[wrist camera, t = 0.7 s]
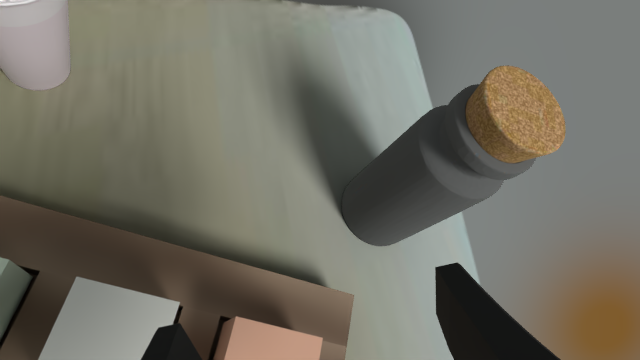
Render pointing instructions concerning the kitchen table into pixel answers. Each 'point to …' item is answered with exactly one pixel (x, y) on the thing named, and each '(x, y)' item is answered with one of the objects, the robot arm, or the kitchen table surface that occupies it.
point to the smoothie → (35, 42)
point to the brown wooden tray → (153, 283)
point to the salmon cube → (264, 342)
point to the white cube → (106, 323)
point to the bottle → (454, 157)
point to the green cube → (11, 290)
